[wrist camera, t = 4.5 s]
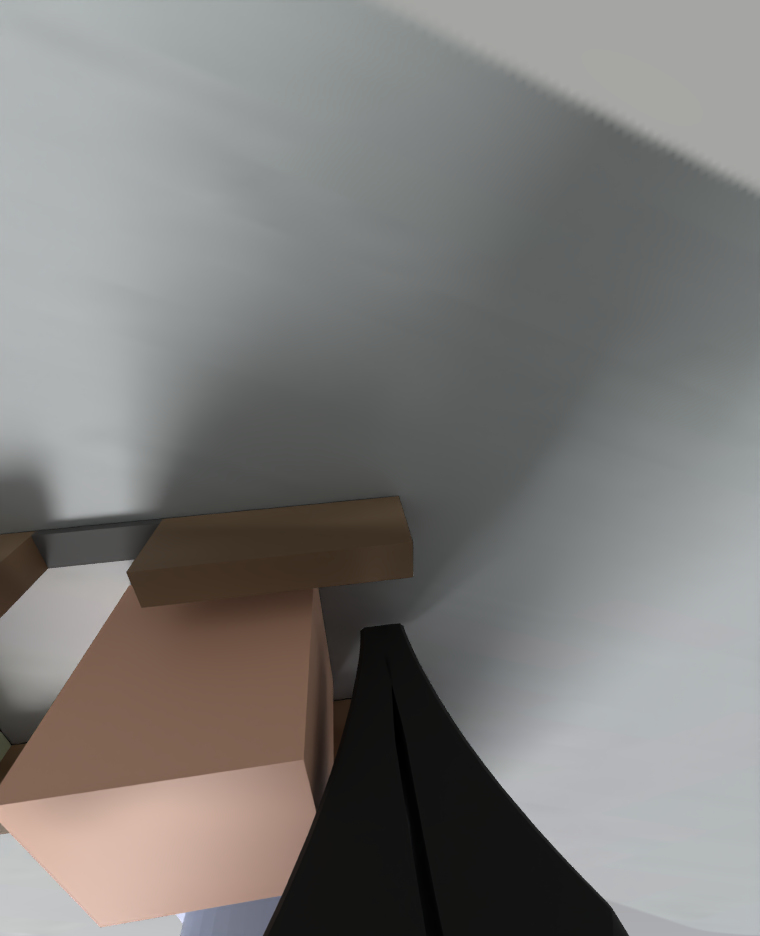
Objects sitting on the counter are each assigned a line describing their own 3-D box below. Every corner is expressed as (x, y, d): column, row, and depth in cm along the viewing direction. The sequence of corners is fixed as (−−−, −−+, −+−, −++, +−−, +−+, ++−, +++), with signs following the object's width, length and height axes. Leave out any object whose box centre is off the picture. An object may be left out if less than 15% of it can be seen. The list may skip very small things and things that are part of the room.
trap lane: (404, 709, 14) (421, 808, 12) (-7, 767, 13) (-93, 891, 11) (398, 496, 10) (422, 572, 8) (-190, 553, 9) (-401, 665, 7)
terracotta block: (333, 681, 13) (333, 886, 9) (180, 702, 13) (100, 927, 8) (314, 564, 11) (303, 759, 7) (129, 585, 11) (-15, 807, 6)
